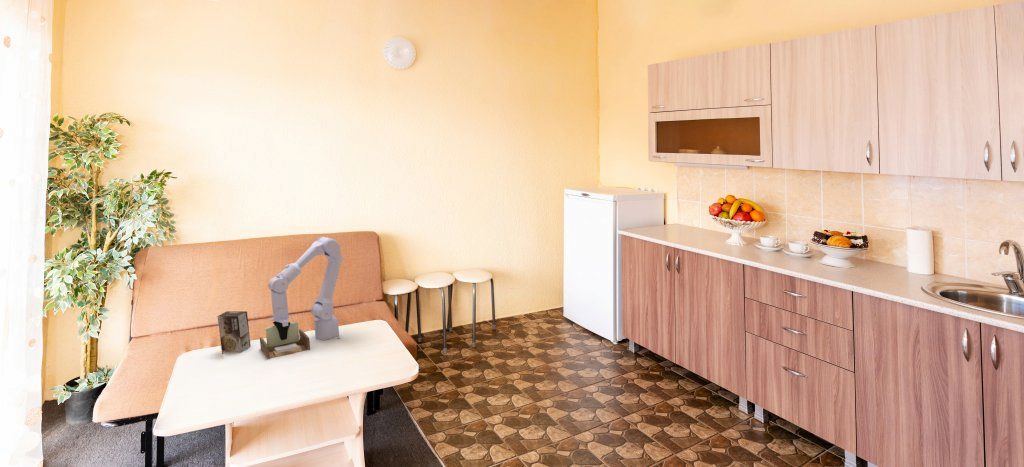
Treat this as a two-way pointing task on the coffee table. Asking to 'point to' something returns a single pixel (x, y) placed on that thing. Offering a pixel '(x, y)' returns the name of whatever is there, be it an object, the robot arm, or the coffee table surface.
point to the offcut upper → (285, 348)
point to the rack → (302, 342)
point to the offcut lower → (287, 352)
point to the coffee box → (234, 331)
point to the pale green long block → (274, 337)
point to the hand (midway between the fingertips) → (283, 338)
